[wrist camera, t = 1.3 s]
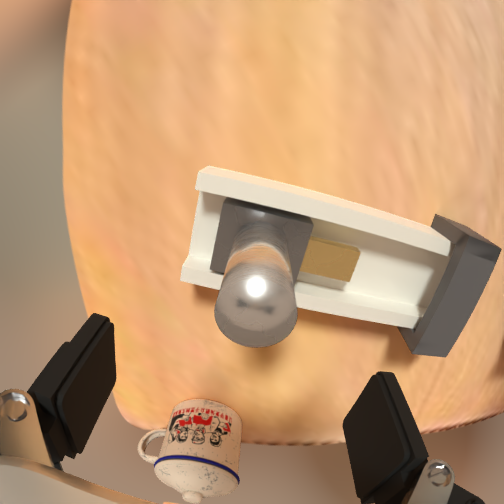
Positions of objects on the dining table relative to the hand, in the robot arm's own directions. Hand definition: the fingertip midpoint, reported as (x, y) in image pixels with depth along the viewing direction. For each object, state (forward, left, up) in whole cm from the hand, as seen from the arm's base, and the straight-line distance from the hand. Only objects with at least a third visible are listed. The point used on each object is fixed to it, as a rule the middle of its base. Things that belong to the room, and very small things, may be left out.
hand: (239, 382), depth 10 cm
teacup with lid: (+2, +25, -16) cm, 29 cm away
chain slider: (-2, 0, -14) cm, 14 cm away
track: (-7, 0, -16) cm, 17 cm away
